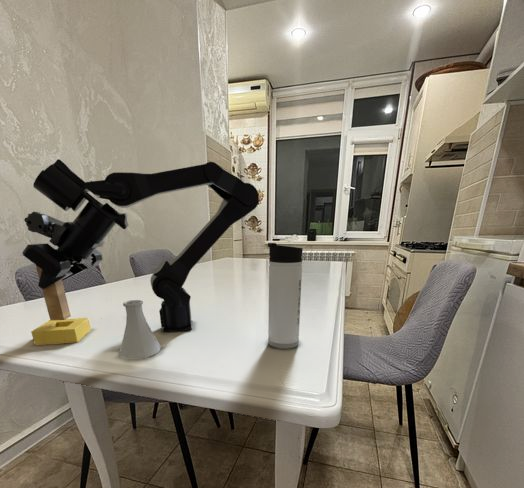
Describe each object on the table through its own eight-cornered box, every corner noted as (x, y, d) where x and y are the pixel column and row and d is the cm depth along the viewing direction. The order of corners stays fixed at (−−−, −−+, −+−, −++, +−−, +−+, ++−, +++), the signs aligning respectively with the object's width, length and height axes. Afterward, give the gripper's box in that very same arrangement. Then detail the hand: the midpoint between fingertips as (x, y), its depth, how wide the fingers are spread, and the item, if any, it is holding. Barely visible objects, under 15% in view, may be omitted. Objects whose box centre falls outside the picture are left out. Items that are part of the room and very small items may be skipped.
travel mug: (262, 340, 62) (262, 242, 55) (289, 336, 64) (292, 241, 57) (274, 351, 56) (276, 243, 49) (304, 346, 59) (309, 243, 52)
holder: (91, 329, 68) (88, 317, 67) (77, 342, 61) (74, 329, 60) (53, 332, 67) (49, 319, 66) (34, 345, 59) (30, 331, 58)
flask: (147, 362, 52) (139, 308, 48) (111, 358, 53) (101, 305, 50) (167, 346, 59) (161, 298, 55) (135, 344, 60) (127, 296, 56)
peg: (71, 316, 64) (56, 255, 60) (64, 320, 61) (48, 257, 57) (57, 316, 64) (41, 256, 59) (50, 320, 61) (33, 257, 57)
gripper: (76, 201, 63) (36, 253, 66) (18, 191, 46) (-33, 263, 49) (120, 238, 67) (80, 287, 70) (81, 243, 49) (30, 307, 52)
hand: (45, 285), depth 60 cm, fingers closed on peg, 3 cm apart
